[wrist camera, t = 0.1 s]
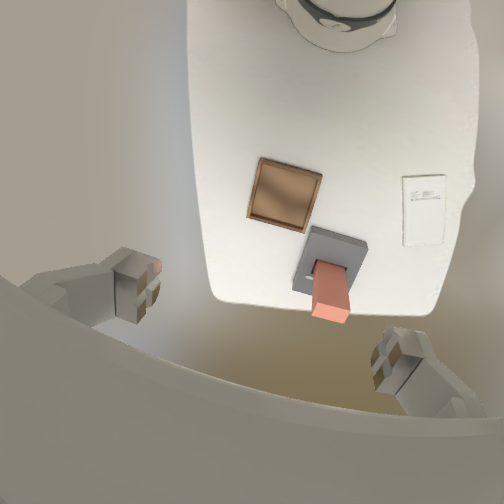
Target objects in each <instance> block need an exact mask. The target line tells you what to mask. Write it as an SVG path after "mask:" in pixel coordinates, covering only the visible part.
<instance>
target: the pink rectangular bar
mask: <svg viewBox="0 0 504 504" xmlns="http://www.w3.org/2000/svg"><path fill="white" fill-rule="evenodd" d="M349 313H350V303H349V295H348V287H347V279H346V272H345V267H343V266H340V265H336V264H333V263H329V262H326V261H323V260H319V259H316V260H315V263H314V266H313V295H312V315H313V316H316V317H320V318H324V319H328V320H331V321H336V322H339V323H344V322H345V320H346V318H347V317H348V315H349Z"/></svg>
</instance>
